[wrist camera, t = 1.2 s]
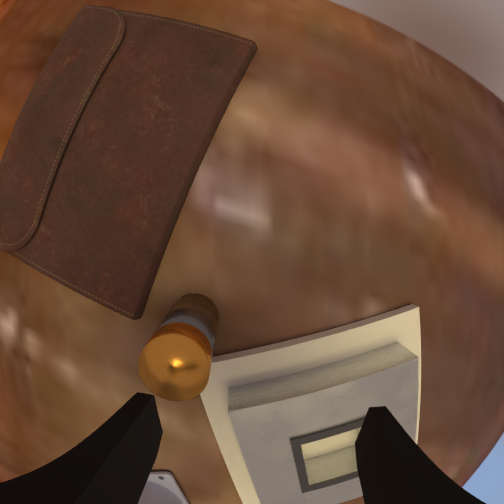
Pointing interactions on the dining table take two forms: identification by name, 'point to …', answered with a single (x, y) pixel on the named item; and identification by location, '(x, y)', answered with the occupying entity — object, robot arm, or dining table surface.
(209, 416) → the stand base
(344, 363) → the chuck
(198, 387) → the orange topped can
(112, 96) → the notebook
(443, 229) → the dining table surface
